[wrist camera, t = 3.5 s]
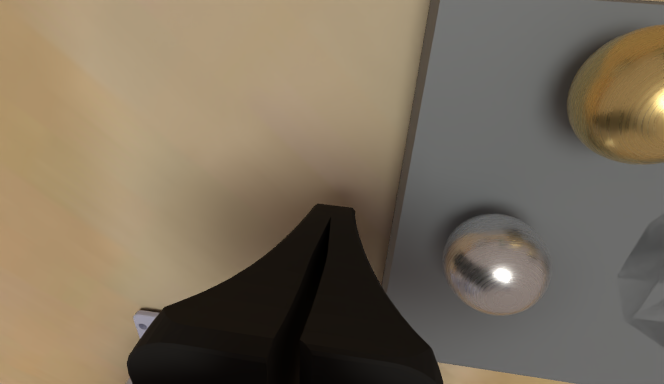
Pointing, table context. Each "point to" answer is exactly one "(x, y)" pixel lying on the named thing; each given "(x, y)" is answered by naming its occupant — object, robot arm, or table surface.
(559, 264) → the plate
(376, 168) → the table surface
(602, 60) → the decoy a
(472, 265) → the ball
